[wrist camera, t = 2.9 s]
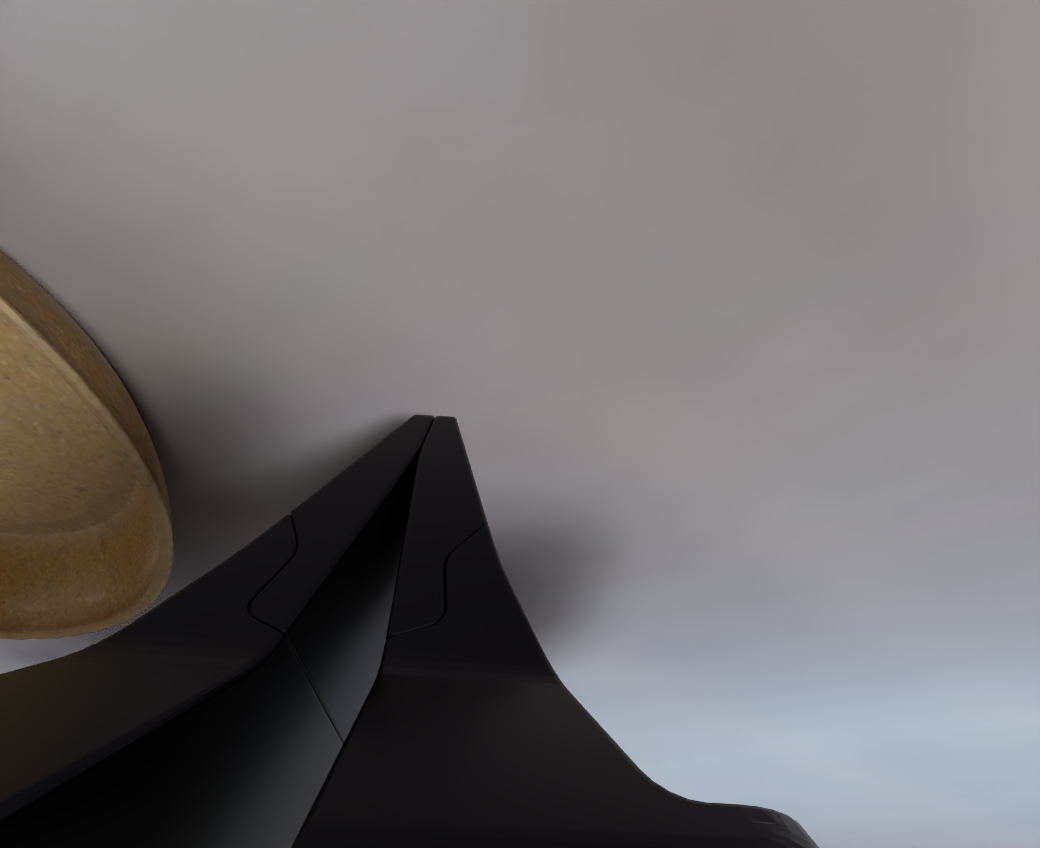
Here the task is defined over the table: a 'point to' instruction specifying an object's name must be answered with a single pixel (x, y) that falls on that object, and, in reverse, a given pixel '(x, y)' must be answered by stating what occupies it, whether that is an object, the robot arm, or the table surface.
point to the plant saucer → (71, 478)
